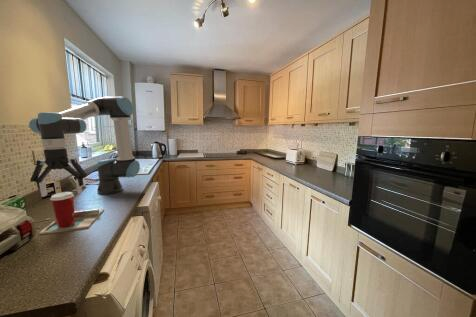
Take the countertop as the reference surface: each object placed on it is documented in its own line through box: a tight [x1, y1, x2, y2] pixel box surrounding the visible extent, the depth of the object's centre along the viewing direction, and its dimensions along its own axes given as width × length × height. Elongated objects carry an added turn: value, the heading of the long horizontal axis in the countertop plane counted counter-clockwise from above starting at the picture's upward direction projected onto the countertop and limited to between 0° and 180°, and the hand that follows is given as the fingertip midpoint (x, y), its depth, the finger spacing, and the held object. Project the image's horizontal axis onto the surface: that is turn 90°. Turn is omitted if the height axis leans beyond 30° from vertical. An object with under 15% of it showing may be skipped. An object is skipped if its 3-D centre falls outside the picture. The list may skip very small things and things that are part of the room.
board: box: [38, 209, 105, 235], centre depth 97 cm, size 20×18×1 cm
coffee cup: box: [50, 191, 75, 228], centre depth 92 cm, size 8×8×15 cm
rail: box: [54, 208, 100, 221], centre depth 100 cm, size 2×18×3 cm, turn 106°
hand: (62, 194), depth 91 cm, fingers open, 13 cm apart
